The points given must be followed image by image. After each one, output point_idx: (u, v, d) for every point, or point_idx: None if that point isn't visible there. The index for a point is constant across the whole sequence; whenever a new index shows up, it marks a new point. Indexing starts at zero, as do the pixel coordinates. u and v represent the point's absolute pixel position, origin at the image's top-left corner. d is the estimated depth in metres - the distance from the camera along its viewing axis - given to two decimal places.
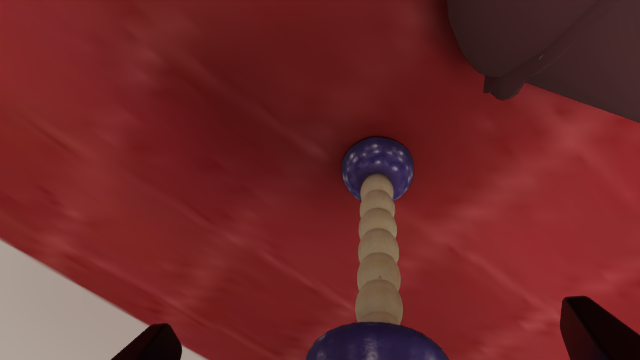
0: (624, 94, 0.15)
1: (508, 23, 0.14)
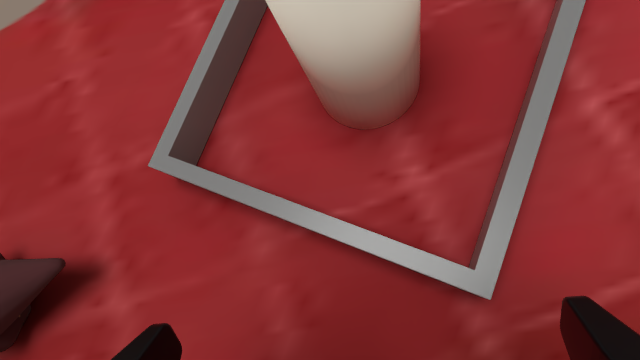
0: None
1: None
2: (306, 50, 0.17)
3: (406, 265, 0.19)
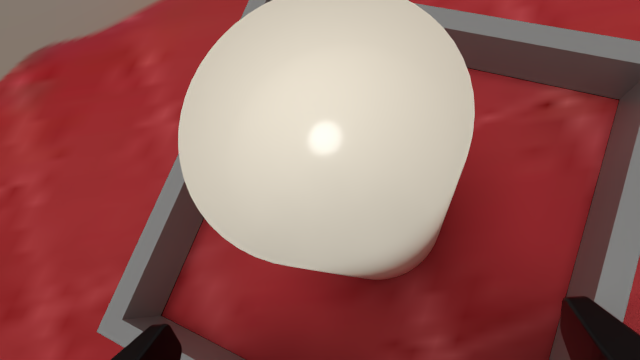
0: None
1: None
2: None
3: None
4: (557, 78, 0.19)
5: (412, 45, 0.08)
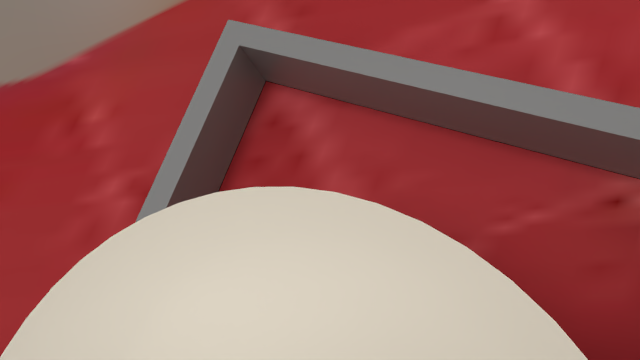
0: None
1: None
2: None
3: None
4: (633, 169, 0.14)
5: None
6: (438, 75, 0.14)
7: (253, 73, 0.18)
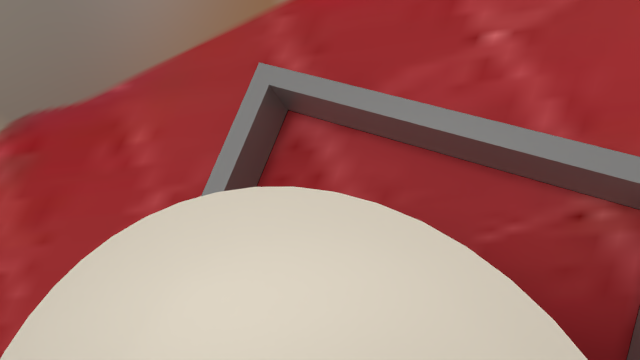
0: None
1: None
2: None
3: None
4: (592, 191, 0.17)
5: None
6: (434, 114, 0.17)
7: (279, 105, 0.21)
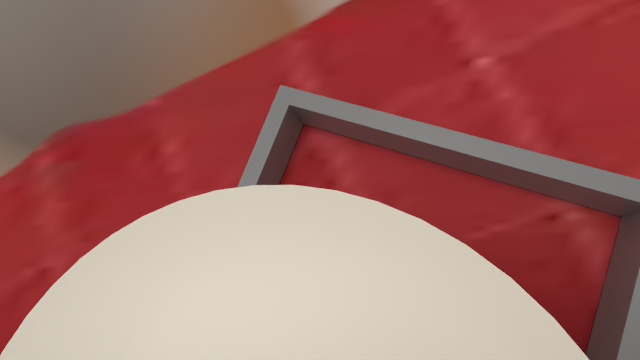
0: None
1: None
2: None
3: None
4: (563, 196, 0.20)
5: None
6: (430, 132, 0.20)
7: (296, 121, 0.24)
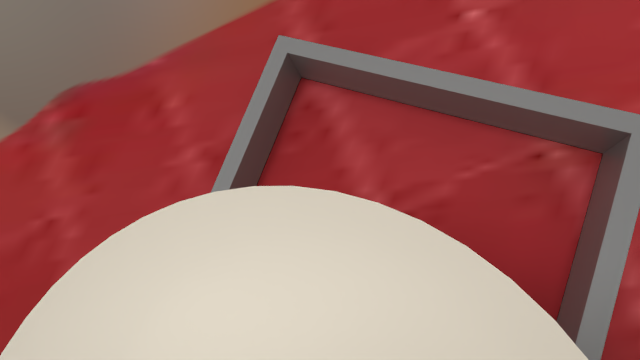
0: None
1: None
2: None
3: None
4: (547, 134, 0.21)
5: None
6: (421, 73, 0.21)
7: (294, 72, 0.25)
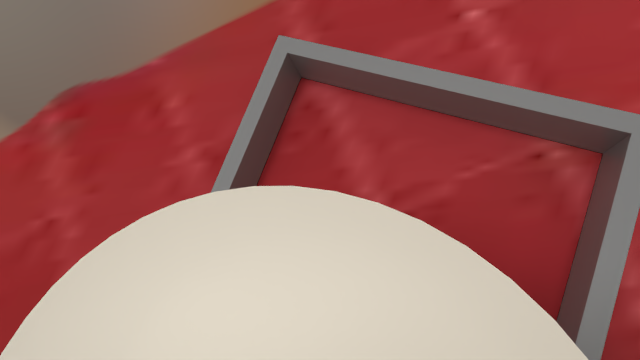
0: None
1: None
2: None
3: None
4: (547, 134, 0.21)
5: None
6: (421, 73, 0.21)
7: (294, 72, 0.25)
